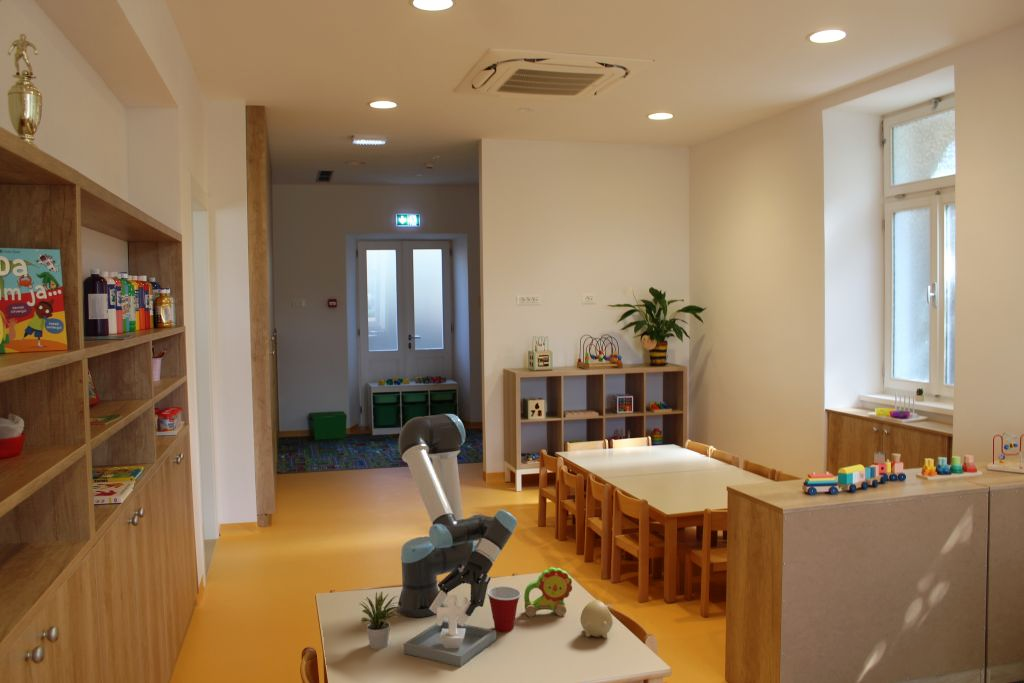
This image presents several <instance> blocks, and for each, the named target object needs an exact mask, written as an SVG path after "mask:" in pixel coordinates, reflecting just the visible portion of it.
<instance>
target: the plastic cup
mask: <svg viewBox="0 0 1024 683" xmlns="http://www.w3.org/2000/svg"><path fill="white" fill-rule="evenodd" d="M486 595H488V599H489V604H490V609H491V615H492V619H493V624H494V630H495V631H496V632H499V633H508V632H511V631H513V629H514V627H515V620H516V614H517V608H518V603H519V599H520V597H521V596H522V592H521V591H520V589H517V588H515V587H512V586H501V585H500V586H494V587H490V588H489V589H487V591H486Z"/></svg>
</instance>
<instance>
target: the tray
mask: <svg viewBox="0 0 1024 683" xmlns="http://www.w3.org/2000/svg"><path fill="white" fill-rule="evenodd" d="M448 628H449V621H448V620H444V619H442V625H441V626H438V625H437V622H436V623H433V625H431V626H429V627H428V628H426V629H424V630H423V631H421V632H420V633H418V634H416V635H415V636H413V637H412V638H411V639H409V640H407V641H405V642H404V643H403V654H404V655H408V656H412V657H417V658H420V659H421V658H422V659H426V660H430V661H434V662H437V663H438V662H439V663H443V664H447V665H450V666H454V667H460V668H462V667H463V666H465V665H466V664H467V663H468V662H470V661H471V660H472V659H474V658H475V657H477V656H478V655H479V654H480V653H482V652H483V651H485V649H487V648H488V647H490V646H491V645H492V644H494V643H495V642H496V641H497V630H496V629H489V628H484V627H479V626H474V625H469V624H466V623H465V624H464V626H463V627H462V626H461V625H459V624H458V623H457V628H466V630H465V635H464V639H463V642H462V644H461V646H460V648H445V647H444V645H443V644H442V642H441V640H440V635H441V631H442V629H448Z"/></svg>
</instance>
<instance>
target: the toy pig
mask: <svg viewBox="0 0 1024 683" xmlns="http://www.w3.org/2000/svg"><path fill="white" fill-rule="evenodd" d="M579 619H580V620H579V621H580V624H581V627H582V629H583V630H584V632H585V636H586V637H587V638H589V637H595V638H597V637H599V638H600V637H602V638H605V639H606V638H607V636H608V633H609V632H610V631H611V629H612V626H613V624H614V621H613V616H612V613H611V611H610V609H609V608H608V606H607V605H606V603H604V602H603V601H601V600H599V599H594V600H591V601H590V602H588V603H587V604H586V605H585V606H584V608H583V609H582V611H581V614H580V618H579Z"/></svg>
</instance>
